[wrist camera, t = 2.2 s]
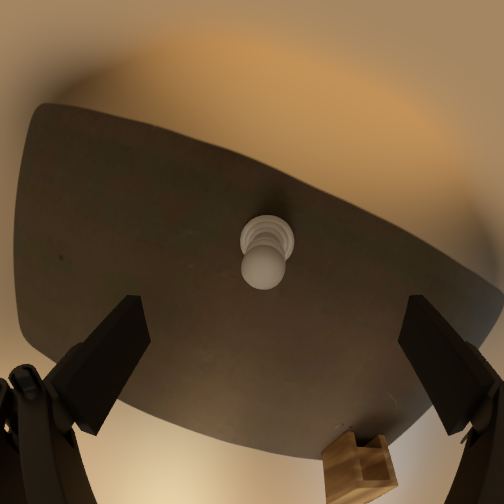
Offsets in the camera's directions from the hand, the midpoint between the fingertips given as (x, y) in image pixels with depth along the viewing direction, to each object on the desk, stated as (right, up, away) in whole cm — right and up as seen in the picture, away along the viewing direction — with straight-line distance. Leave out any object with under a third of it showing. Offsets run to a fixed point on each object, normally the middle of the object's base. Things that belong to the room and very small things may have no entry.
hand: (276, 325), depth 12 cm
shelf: (+17, -32, +26) cm, 45 cm away
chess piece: (0, +5, +15) cm, 16 cm away
